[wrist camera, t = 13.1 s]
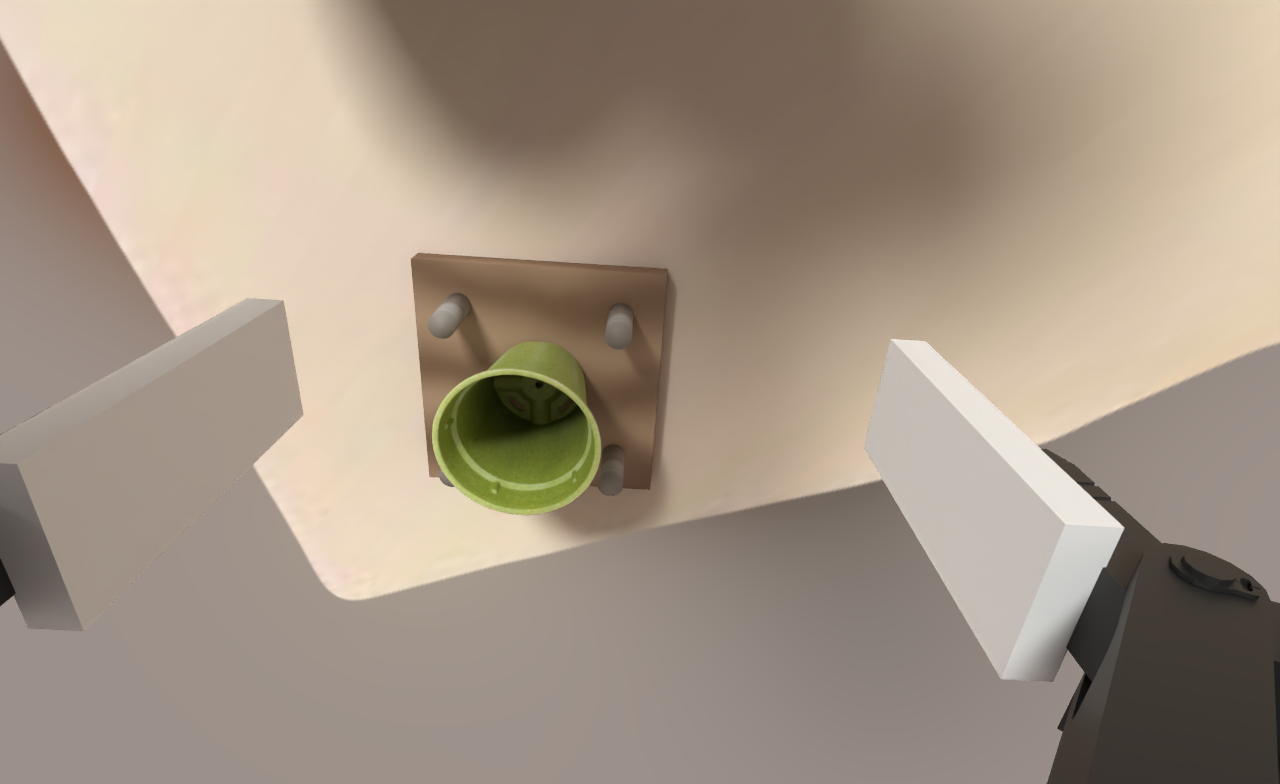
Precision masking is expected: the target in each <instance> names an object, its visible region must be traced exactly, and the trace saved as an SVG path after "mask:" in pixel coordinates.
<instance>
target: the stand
mask: <svg viewBox="0 0 1280 784" xmlns="http://www.w3.org/2000/svg"><path fill="white" fill-rule="evenodd" d="M411 266H412V278H413V290H414V301H415V313H416V325H417V336H418V348H419V359H420V371H421V383H422V394H423V406H424V417H425V429H426V441H427V452H428V464H429V476H430V477H440V480H441V481H442V482H443V483H444V484H445V485H447V486H450V487H455V486H454V485H453V484H452V483H451V482H450V481H449V480H448V478H447V477H446V476H445V474H444V473H443V471H442V470H441V468H440V466H439V464H438V462H437V459H436V456H435V453H434V450H433V444H432V428H433V421H434V418H435V415H436V413H437V410H438V408H439V406H440V404H441V403H442V401H443V400H444V398H445V397H446V396H447V395H448V394H449V393H450V391H451V390H452V389H453V388H455V387H456V386H457V385H458V384H459V383H461V382H462V381H464V380H465V379H467V378H469V377H471V376H473V375H475V374H477V373H480V372H483V371H487V370H488V369H489V368H490V367H491V366H492V365H493V364H494V363H495V362H496V361H497V360H498V359H499V358H500V357H501V356H502V355H503V354H504V353H505V352H506V351H508V350H509V349H510V348H512V347H514V346H516V345H518V344H520V343H523V342H549V343H553V344H556V345H558V346H560V347H562V348H563V349H565V350H566V351H568V352H569V353H570V354H571V355H572V356H573V357H574V358H575V359H576V361H577V362H578V364H579V365H580V367H581V369H582V372H583V375H584V380H585V388H586V401H587V406H588V408H589V409H590V410H591V412H592V414H593V416H594V418H595V420H596V422H597V425H598V428H599V432H600V437H601V458H600V463H599V466H598V470H597V472H596V475H595V477H594V479H593V480H592V482H591V484H590V485H589V486H597V487H599V489H600V491H601V492H602V493H603V494H605V495H608V496H614V495H617V494H618V493H620V492H621V490H622V488H632V489H649V490H650V481H651V469H652V457H653V445H654V433H655V421H656V409H657V397H658V385H659V373H660V361H661V349H662V337H663V325H664V313H665V301H666V289H667V277H668V274H667V269H657V268H642V267H626V266H610V265H595V264H579V263H564V262H548V261H533V260H517V259H502V258H486V257H471V256H455V255H440V254H424V253H418V254H417V255H415V256H414V257H413V258H411ZM535 385H536V387H537V388H541V387H542V386H543V382H541V381H538V382H537V383H536V384H535ZM509 399H510V401H511V403H512V404H513V405H514V406H515V407H516V408H518V409H520V410H525V407H524V406H522V405H520V404H519V403H518V402H517V401H516V400H515V399H514V398H513V397H509ZM571 403H572V399H571V398H569V400H568V401H567V402H566V403H565V404H564V405H562V406H560V407H559V408H558V410H559V411H563V410H565V409H566V408H567V407H568V406H569V405H570V404H571Z"/></svg>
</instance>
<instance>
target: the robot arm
mask: <svg viewBox="0 0 1280 784" xmlns="http://www.w3.org/2000/svg"><path fill="white" fill-rule="evenodd" d="M302 416H303V410H302V404H301V398H300V392H299V387H298V381H297V375H296V369H295V364H294V358H293V352H292V347H291V341H290V335H289V329H288V324H287V318H286V312H285V306H284V301H282V300H266V299H250V298H247V299H245V300H243V301H242V302H240V303H238V304H236V305H234V306H233V307H231V308H229V309H227V310H225V311H224V312H222V313H220V314H218V315H216V316H214V317H213V318H211V319H209V320H207V321H205V322H204V323H202V324H200V325H198V326H196V327H195V328H193V329H191V330H189V331H187V332H186V333H184V334H182V335H180V336H178V337H176V338H175V339H173V340H171V341H169V342H167V343H166V344H164V345H162V346H160V347H158V348H157V349H155V350H153V351H151V352H150V353H148V354H146V355H144V356H142V357H140V358H138V359H137V360H135V361H133V362H131V363H129V364H128V365H126V366H124V367H122V368H121V369H119V370H117V371H115V372H113V373H111V374H110V375H108V376H106V377H104V378H102V379H101V380H99V381H97V382H95V383H93V384H91V385H90V386H88V387H86V388H84V389H82V390H81V391H79V392H77V393H75V394H74V395H72V396H70V397H68V398H66V399H64V400H63V401H61V402H59V403H57V404H55V405H53V406H51V407H49V408H48V409H46V410H44V411H42V412H40V413H39V414H37V415H35V416H33V417H31V418H29V419H28V420H26V421H24V422H23V423H21V424H19V425H17V426H15V427H13V428H11V429H9V430H8V431H6V432H4V433H2V434H0V606H1V605H2V604H3V603H5V602H6V601H7V600H8V599H10V598H11V597H12V596H13V595H14V597H15V599H16V602H17V604H18V606H19V608H20V611H21V613H22V615H23V617H24V620H25V622H26V624H27V626H28V628H33V629H52V630H71V631H84V630H85V629H86V628H87V627H88V626H89V625H90V624H91V623H92V622H93V621H94V620H96V618H98V617H99V615H101V614H102V613H103V612H104V611H105V610H106V609H107V608H108V607H109V606H110V605H111V603H113V602H114V601H115V600H116V599H117V598H118V597H119V596H120V595H121V594H122V593H123V592H124V591H125V590H126V589H127V588H128V587H129V586H130V585H131V584H132V583H133V582H134V581H135V580H136V579H137V578H138V577H139V576H140V575H141V574H142V573H143V572H144V571H145V570H146V569H147V568H148V567H149V566H150V565H151V564H152V563H153V562H154V561H155V560H156V559H157V558H158V557H159V556H161V554H163V553H164V551H166V550H167V549H168V548H169V547H170V545H172V544H173V543H174V542H175V541H176V540H177V539H178V538H179V537H180V536H181V535H182V534H183V533H184V532H185V531H186V530H187V529H188V528H189V527H190V526H191V525H192V524H193V523H194V522H195V521H196V520H197V519H198V518H199V517H200V516H201V515H202V514H203V513H204V512H205V511H206V510H207V509H208V508H209V507H210V506H211V505H212V504H213V503H214V502H215V501H216V500H217V499H218V498H219V497H220V496H221V495H222V494H223V493H224V492H226V491H227V490H228V488H229V487H231V486H232V485H233V484H234V483H235V481H237V479H239V478H240V477H241V476H242V475H243V474H244V473H245V472H246V471H247V470H248V469H249V468H250V467H251V466H252V465H253V464H254V463H255V462H256V461H257V460H258V459H259V458H260V457H261V456H262V455H263V454H264V453H265V452H266V451H267V450H268V449H269V448H270V447H271V446H272V445H273V444H274V443H275V442H276V441H277V440H278V439H279V438H280V437H281V436H282V435H283V434H284V433H285V432H286V431H287V430H288V429H290V428H291V427H292V426H293V425H294V424H295V423H296V422H297V421H298V420H299V419H300V418H301V417H302ZM864 449H865V450H866V452H867V454H868V455H869V457H870V459H871V461H872V462H873V464H874V466H875V467H876V469H877V471H878V472H879V474H880V476H881V477H882V479H883V481H884V482H885V484H886V486H887V488H888V489H889V490H890V492H891V494H892V496H893V498H894V499H895V501H896V503H897V504H898V506H899V507H900V509H901V511H902V513H903V514H904V516H905V518H906V520H907V521H908V523H909V524H910V526H911V528H912V529H913V531H914V533H915V535H916V536H917V538H918V540H919V541H920V543H921V545H922V546H923V548H924V550H925V552H926V553H927V555H928V557H929V558H930V560H931V562H932V563H933V565H934V567H935V568H936V570H937V572H938V574H939V575H940V577H941V579H942V580H943V582H944V584H945V585H946V587H947V589H948V590H949V592H950V594H951V595H952V597H953V599H954V600H955V602H956V604H957V606H958V607H959V609H960V611H961V612H962V614H963V616H964V617H965V619H966V620H967V622H968V624H969V626H970V627H971V629H972V631H973V632H974V634H975V636H976V638H977V639H978V641H979V643H980V644H981V646H982V648H983V649H984V651H985V653H986V654H987V656H988V658H989V660H990V661H991V663H992V664H993V666H994V668H995V669H996V671H997V673H998V675H999V676H1000V678H1001V679H1010V680H1030V681H1049V682H1053V681H1054V678H1055V676H1056V674H1057V672H1058V670H1059V668H1060V665H1061V663H1062V661H1063V659H1064V657H1065V655H1066V653H1067V651H1068V650H1069V652H1070V653H1071V654H1072V656H1073V657H1074V658H1075V660H1076V661H1077V663H1078V664H1079V665H1080V667H1081V668H1082V669H1083V671H1084V672H1085V673H1084V675H1083V677H1082V679H1081V681H1080V683H1079V685H1078V687H1077V689H1076V691H1075V693H1074V695H1073V697H1072V699H1071V701H1070V703H1069V705H1068V708H1067V709H1066V712H1065V713H1064V716H1063V718H1062V720H1061V722H1060V724H1059V726H1058V729H1059V730H1061V731H1063V733H1062V736H1061V740H1060V743H1059V746H1058V749H1057V753H1056V756H1055V759H1054V762H1053V766H1052V769H1051V773H1050V775H1049V779H1048V782H1047V784H1280V603H1277V602H1273V601H1271V600H1270V599H1269V596H1268V594H1267V592H1266V590H1265V589H1264V588H1263V587H1262V586H1261V585H1260V584H1259V583H1258V582H1257V581H1256V580H1255V579H1254V578H1253V577H1252V576H1250V575H1249V574H1247V573H1245V572H1244V571H1242V570H1241V569H1239V568H1238V567H1236V566H1235V565H1233V564H1231V563H1230V562H1227V561H1225V560H1223V559H1221V558H1218V557H1216V556H1214V555H1212V554H1209V553H1207V552H1204V551H1200V550H1197V549H1194V548H1190V547H1187V546H1183V545H1174V544H1167V543H1163V544H1162V543H1161V542H1160V541H1159V540H1157V539H1156V538H1155V537H1154V536H1153V535H1152V534H1151V533H1150V532H1149V531H1147V530H1146V529H1145V528H1144V527H1143V526H1142V525H1141V524H1140V523H1138V522H1137V521H1136V520H1135V519H1134V518H1133V517H1132V516H1131V515H1130V514H1129V513H1127V512H1126V511H1125V510H1124V509H1123V508H1122V507H1121V506H1120V505H1118V504H1117V503H1116V502H1115V501H1111V497H1110V496H1108V495H1107V494H1106V493H1105V492H1104V491H1103V490H1102V489H1101V488H1100V487H1098V486H1094V482H1093V481H1092V480H1091V479H1090V478H1088V477H1087V476H1086V475H1085V474H1084V473H1083V472H1082V471H1081V470H1080V469H1079V468H1077V467H1076V466H1075V465H1074V464H1072V463H1070V462H1068V461H1067V460H1065V459H1063V458H1061V457H1059V456H1058V455H1056V454H1054V453H1052V452H1051V451H1049V450H1047V449H1040V448H1039V447H1038V446H1037V445H1036V444H1035V443H1034V442H1033V441H1031V440H1030V439H1029V438H1028V437H1027V436H1026V435H1025V434H1024V433H1023V432H1022V431H1021V430H1020V429H1019V428H1018V427H1017V426H1015V425H1014V424H1013V423H1012V422H1011V421H1010V420H1009V419H1008V418H1007V417H1006V416H1005V415H1004V414H1003V413H1002V412H1000V411H999V410H998V409H997V408H996V407H995V406H994V405H993V404H992V403H991V402H990V401H989V400H988V399H987V398H986V397H984V396H983V395H982V394H981V393H980V392H979V391H978V390H977V389H976V388H975V387H974V386H973V385H972V384H971V383H970V382H968V381H967V380H966V379H965V378H964V377H963V376H962V375H961V374H960V373H959V372H958V371H957V370H956V369H955V368H954V367H952V366H951V365H950V364H949V363H948V362H947V361H946V360H945V359H944V358H943V357H942V356H941V355H940V354H939V353H938V352H936V351H935V350H934V349H933V348H932V347H931V346H930V345H929V344H928V343H927V342H926V341H916V340H900V339H890V343H889V348H888V352H887V356H886V360H885V364H884V368H883V372H882V377H881V381H880V385H879V389H878V393H877V397H876V401H875V405H874V410H873V414H872V418H871V422H870V426H869V430H868V434H867V439H866V443H865V447H864Z"/></svg>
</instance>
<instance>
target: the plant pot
mask: <svg viewBox="0 0 1280 784" xmlns="http://www.w3.org/2000/svg"><path fill="white" fill-rule="evenodd" d="M538 381H541V382H543V386H542V387H541V388H537V387H536V385H535V384H536V383H537V382H538ZM509 397H513V398H514V399H515V400H516V401H517V402H518V403H519V404H520V405H522V406H524V407H525V410H520V409H518V408H516V407H515V406H514V405H513V404H512V403H511V401H510V399H509ZM569 398H571V399H572V403H571V404H570V405H569V406H568V407H567V408H566V409H565V410H563V411H559V410H558V408H559V407H560V406H562V405H564V404H565V403H566V402H567V401H568V400H569ZM432 444H433V450H434V453H435V456H436V459H437V462H438V464H439V466H440V468H441V470H442V471H443V473H444V474H445V476H446V477H447V478H448V480H449V481H450V482H451V483H452V484H453V485H454V486H455V487H456V488H457V489H458V490H459V491H461V492H462V493H463V494H464V495H465V496H467V497H468V498H470V499H471V500H473V501H474V502H476V503H478V504H480V505H482V506H484V507H487V508H489V509H493V510H496V511H499V512H503V513H507V514H516V515H537V514H543V513H547V512H551V511H554V510H557V509H559V508H562V507H564V506H566V505H568V504H570V503H571V502H573V501H574V500H575V499H576V498H578V497H579V496H580V495H581V494H582V493H583V492H584V491H585V490H586V489H587V488H588V486H589V485H590V484H591V482H592V480H593V479H594V477H595V475H596V472H597V470H598V466H599V463H600V458H601V437H600V432H599V428H598V425H597V422H596V420H595V418H594V416H593V414H592V412H591V410H590V409H589V408H588V406H587V401H586V388H585V380H584V375H583V372H582V369H581V367H580V365H579V364H578V362H577V361H576V359H575V358H574V357H573V356H572V355H571V354H570V353H569V352H568V351H566V350H565V349H563V348H562V347H560V346H558V345H556V344H553V343H549V342H523V343H520V344H518V345H516V346H514V347H512V348H510V349H509V350H508V351H506V352H505V353H504V354H503V355H502V356H501V357H500V358H499V359H498V360H497V361H496V362H495V363H494V364H493V365H492V366H491V367H490V368H489V369H488V370H487V371H483V372H480V373H477V374H475V375H473V376H471V377H469V378H467V379H465V380H464V381H462V382H461V383H459V384H458V385H457V386H456V387H455V388H453V389H452V390H451V391H450V393H449V394H448V395H447V396H446V397H445V398H444V400H443V401H442V403H441V404H440V406H439V408H438V410H437V413H436V415H435V418H434V421H433V428H432Z"/></svg>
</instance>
